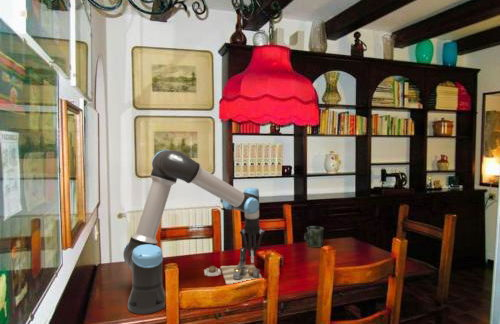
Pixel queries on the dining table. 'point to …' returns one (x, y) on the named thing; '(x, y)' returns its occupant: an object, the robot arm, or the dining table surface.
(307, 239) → the mug
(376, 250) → the dining table surface
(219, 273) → the dish
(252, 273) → the walnut
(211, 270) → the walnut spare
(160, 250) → the robot arm
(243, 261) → the lever
